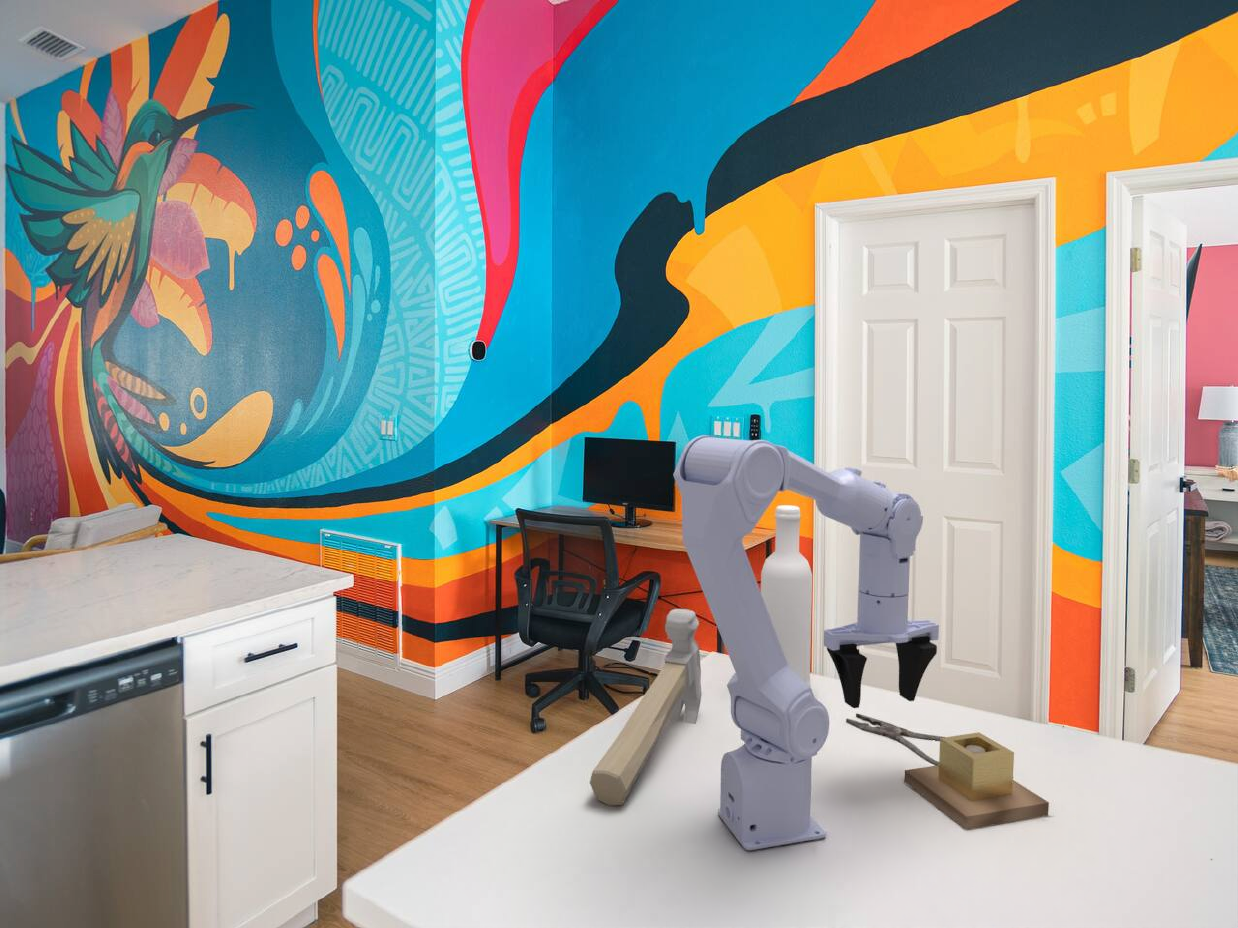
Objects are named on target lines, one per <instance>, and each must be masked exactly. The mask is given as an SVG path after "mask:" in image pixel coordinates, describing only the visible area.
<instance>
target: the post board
mask: <svg viewBox="0 0 1238 928" xmlns="http://www.w3.org/2000/svg"><path fill="white" fill-rule="evenodd" d="M966 749H967V750H969V751H971V752H972V753H974V754H978V753H984V752H985V749H984V748H982V747H980V746H976V745H969V746H967V747H966ZM903 782H904V783H905V784H906V785H908V786H909V787H910V788H912V789H913V790H914V791H915V792H917V793H918V794H919V795H920V796H922V797H923V798H924V799H926V800H927V801H928V802H929V803H931V804H932V805H933V806H934V807H936V808H937V809H939V810H940V811H941V812H942V813H944V814H945V815H946V816H947V817H949V818H950V819H952V820H953V821H954V822H956V823H957V824H958V825H959V826H961V827H962V828H963V829H964V830H966V831H968V830H973V829H977V828H984V827H989V826H990V827H991V826H994V825H1000V824H1005V823H1011V822H1017V821H1023V819H1024V820H1027V819H1028V820H1029V819H1034V818H1040V817H1046V816H1049V808H1050V807H1049V806H1050V805H1049V804H1050V802H1049V801H1047V800H1046V799H1044V798H1043V797H1041V796H1040V795H1038V794H1037V793H1035V792H1033V791H1032V790H1030V789H1029V788H1027V787H1025V786H1024V785H1022V784H1020V783H1019V782H1017V781H1016V780H1015V779H1013V786H1012V794H1010V795H1005V796H999V797H994V798H988V799H983V800H977V801H970V800H969V799H968V798H966V797H965V796H963V795H962V794H960V793H959V792H957V791H956V790H955V789H953V788H952V787H950V786H949V785H947V784H946V783H945V782H943V781H942V780H940V779H939V765H930V766H924V767H918V768H912V769H911V768H910V769H905V770H904V781H903Z"/></svg>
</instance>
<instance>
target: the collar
mask: <svg viewBox="0 0 1238 928" xmlns="http://www.w3.org/2000/svg"><path fill="white" fill-rule="evenodd" d="M944 737H945V738H940V741H939V756H938V757H939V758H938V759H939V760H938V762H939V779H940V780H942V781H943V782H945V783H946V784H947V785H949V786H950V787H952V788H953V789H955V790H956V791H957V792H959V793H960V794H962V795H963V796H965V797H966V798H968V799H969V800H970V801H977V800H983V799H988V798H994V797H999V796H1005V795H1010V794H1012V786H1013V780H1014V764H1015V763H1014V762H1015V761H1014V760H1015V752H1014V751H1012V750H1010V749H1008V748H1007V747H1005V746H1003V745H1002V744H1000V743H999V742H997V741H995V740H993V739H991V738H990V737H988V736H986V735H984V733H981V732H972V733H966V734H965V733H964V734H959V735H958V734H957V735H952V736H944ZM969 745H976V746H980V747H982V748H984V749H985V752H984V753H978V754H974V753H972V752H971V751H969V750H967V749H966V747H967V746H969Z"/></svg>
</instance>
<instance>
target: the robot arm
mask: <svg viewBox="0 0 1238 928" xmlns="http://www.w3.org/2000/svg"><path fill="white" fill-rule="evenodd" d="M862 473H863V472H862V470H860V469H858V468H857V467H852V466H850V467H849V466H845V468H837V469H834V470H832V471H829V472H828V471H826V470H824V469H823V468H821V467H819V466H817V465H815V464H814V463H812V462H810V461H808V460H807V459H805V458H803V457H801V456H800V455H797V454H795V453H794V452H792V451H790V450H788V448H787V447H786V446H783V445H779V444H774V443H772V442H770V441H769V440H765V439H753V440H746V439H736V438H735V439H734V438H722V437H714V436H712V435H708V434H707V435H705V434H704V435H699V436H696V437H695V438H692V439H691V440H690V441H689V442H687V444H686V445H685V447H684V448H683V450H682V452H681V455H680V457H679V459H678V463H677V464H676V467H675V470H674V472H673V478H674V480H675V483H676V486H677V488H678V491H679V493H680V496H681V528H682V529H681V530H682V531H681V533H682V536H681V537H682V541H683V544H684V545H683V546H684V549H685V550H686V553H687V556H688V558H689V560H690V563H691V565H692V567H693V570H694V573H695V576H696V578H697V580H698V583H699V585H700V588H701V590H702V593H703V594H704V598H705V600H706V603H707V605H708V608H709V609H710V612H711V614H712V618H713V620H714V623H715V625H716V627H717V629H718V632H719V634H720V636H721V639H722V640H721V641H722V642H723V644H724V646H725V649H726V652H727V654H728V657H729V659H730V662H731V665H732V666H733V669H734V672H735V673H734V674H733V675H732V676H731V678H730V679H729V681H728V682H727V684H726V687H727V690H728V692H729V697H730V715H731V719H732V721H733V723H734V725H735V726H736V727H737V728H738V729H740V740H742V742H743V744H742V745H741V746H739V747H738V748H736V749H734V750H731V751H728V752H726V753H724V754H723V755H722V759H721V764H720V804H719V805H720V807H719V808H718V809H717V814H718V816H719V817H720V818H721V819H722V822H724V823H725V825H726V826H727V828H728V829H729V830H730V831H731V833H732V834H733V835H734V836H735V838H736V840H737V841H738V842H739V843H740V844H741V846H742V847H743V849H745V851H754V850H760V849H765V848H771V847H777V846H783V845H790V844H794V843H795V844H796V843H801V842H805V841H806V842H807V841H812V840H819V839H824V838H826V836H827V832H826V830H825V829H824V828H822V826H821V825H820V824H819V823H818V822H817V821H816V820H814V818H813V817H812V816H811V802H812V801H811V800H812V767H813V766H812V763H813V762H812V761H813V760H812V759H813V757H815V756H817V755H818V753H819V751H820V750H821V749H822V748H823V746H824V744H825V743H826V741H827V739H828V736H829V730H830V715H829V712H828V709H827V707H826V706H825V705H824V704H823V703H822V702H821V701H820V700H818V699H817V698H816V697H815V695H814V692H813V690H812V688H811V685H810V686H809V685H808V684H807V683H806V682H805V681H804V680H803V679H802V678H801V677H800V676H799V675H798V674H797V673H796V672H795V671H794V670H793V669H792V668H791V667H790V666H789V665H788V663H787V661H786V658H785V655H784V653H783V650H782V647H781V645H780V642H779V639H778V637H777V634H776V631H775V629H774V626H773V624H772V621H771V618H770V616H769V613H768V610H767V608H766V605H765V602H764V600H763V597H762V594H761V588H760V587H759V583H758V581H757V578H756V575H755V573H754V570H753V568H752V566H751V562H750V560H749V557H748V555H747V552H746V550H745V547H744V544H743V539H744V537H745V536H747V535H749V534H751V533H752V532H753V531H754V528H755V527H756V526H757V525H758V523H759V522H760V519H761V518H762V517H763V515H764V514H765V512H766V511H767V510H768V509H769V506H770V505H771V504H772V502H773V501H774V500H775V497H776V496H777V494H778V492H783V493H784V492H786V491H787V490H788V491H790V492H792V493H795V494H798V495H801V496H804V497H806V498H809V499H812V500H813V501H814V500H815V504H816V508H817V510H818V511H819V513H820V514H821V515H822V516H824V517H826V518H828V519H831V520H832V521H835V522H838V523H840V524H842V525H845V526H846V527H847V526H848V527H849V528H850V529H851V530H852V532H853V533H854V534H855V535H856V536H859V549H858V550H859V552H858V558H859V559H858V560H859V561H858V588H857V594H858V595H857V620H856V621H857V622H853V623H850V624H847V625H842V626H838V627H834V628H829V629H823V646H824V647H826V651H827V652H828V654H829V656H830V658H831V660H832V662H833V664H834V666H835V669H836V672H837V675H838V677H839V680H840V684H841V689H842V695H843V699H844V700H843V701H844V703H845V704H847V705H848V706H849V707H851V708H852V709H859V707H860V705H861V693H862V689H861V688H862V680H863V679H862V678H863V673H864V669H865V666H866V662H867V660H868V658H867V656H865V655H863V654H862V653H860V649H859V648H858V647H860V646H870V645H879V644H880V645H881V644H889V643H890V644H892V643H893V644H894V643H895V647H896V653H897V654H896V655H897V660H898V661H897V662H898V692H899V696H900V697H901V698H904V699H905V700H907V701H909V702H915V699H916V697H917V694H918V693H917V692H918V689H919V687H920V684H921V681H922V678H923V676H924V673H925V671H926V669H928V666H929V664H930V663H931V662H932V660H933V659H934V657H935V656H936V655H937V652H938V645H937V644H935V643H933V642H932V641H938V640H939V632H940V628H939V627H940V624H938V623H936V622H934V621H931V620H929V619H927V620H926V619H925V620H909V593H910V567H911V565H910V563H911V557H912V556H914V552H915V551H916V543H917V542H916V541H917V539H918V538H917V537H918V535H919V534H920V532H921V530H922V526H923V522H924V515H922V512H921V508H920V506H919V504H918V502H917V501H916V500H915V499H914V498H913V497H912V496H911V495H909V494H907V493H901V492H893V491H889V489H887V488H886V487H887V484H886V483H884V482H882V481H877V480H876V481H875V480H874V481H871V480H869V479H867V478H864V477H862Z"/></svg>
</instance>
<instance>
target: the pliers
mask: <svg viewBox="0 0 1238 928" xmlns="http://www.w3.org/2000/svg"><path fill="white" fill-rule="evenodd" d="M855 717H856V718H857V719H860V720H862V721H865V722H868V723H865V722H860V721H858V720H855V719H850V718H846V720H845V723H847V724H849V725H851V726H853V727H855V728H857V729H859V730H861V731H864V732H866V733H871V734H874V735H877V736H882V737H886V738H888V739H890V740H893V741H895V742H898V743H900V744H901V745H903V746H905V748H908V750H910V751H912V752H913V753H914V754H915V755H917V756H918V757H920V758H921V759H923V760H924V761H926V762H928V763H929V764H932V766H936V765H939V760H935V759H934V758H932V757H931V756H929V755H928V754H926V753H924V752H923V751H922V750H921V749H920V748H919V747H917V745H915V744H913V743H912V742H911V741H909V740H907V739H906V738H911V739H912V738H913V739H917V740H924V741H925V740H926V741H933V740H935V742H940V738H945V737H946V736H940V735H933V734H925V733H920V732H919V733H918V732H914V731H911V730H909V729H907V728H903V727H900V726H897V725H894V723H890V722H887V721H884V720H880V719H877V718H873V717H870V716H867V715H864V714H861V713H858V712H857V713H855ZM869 723H870V724H871V725H872V726H871V725H870V724H869ZM905 737H906V738H905Z"/></svg>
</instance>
